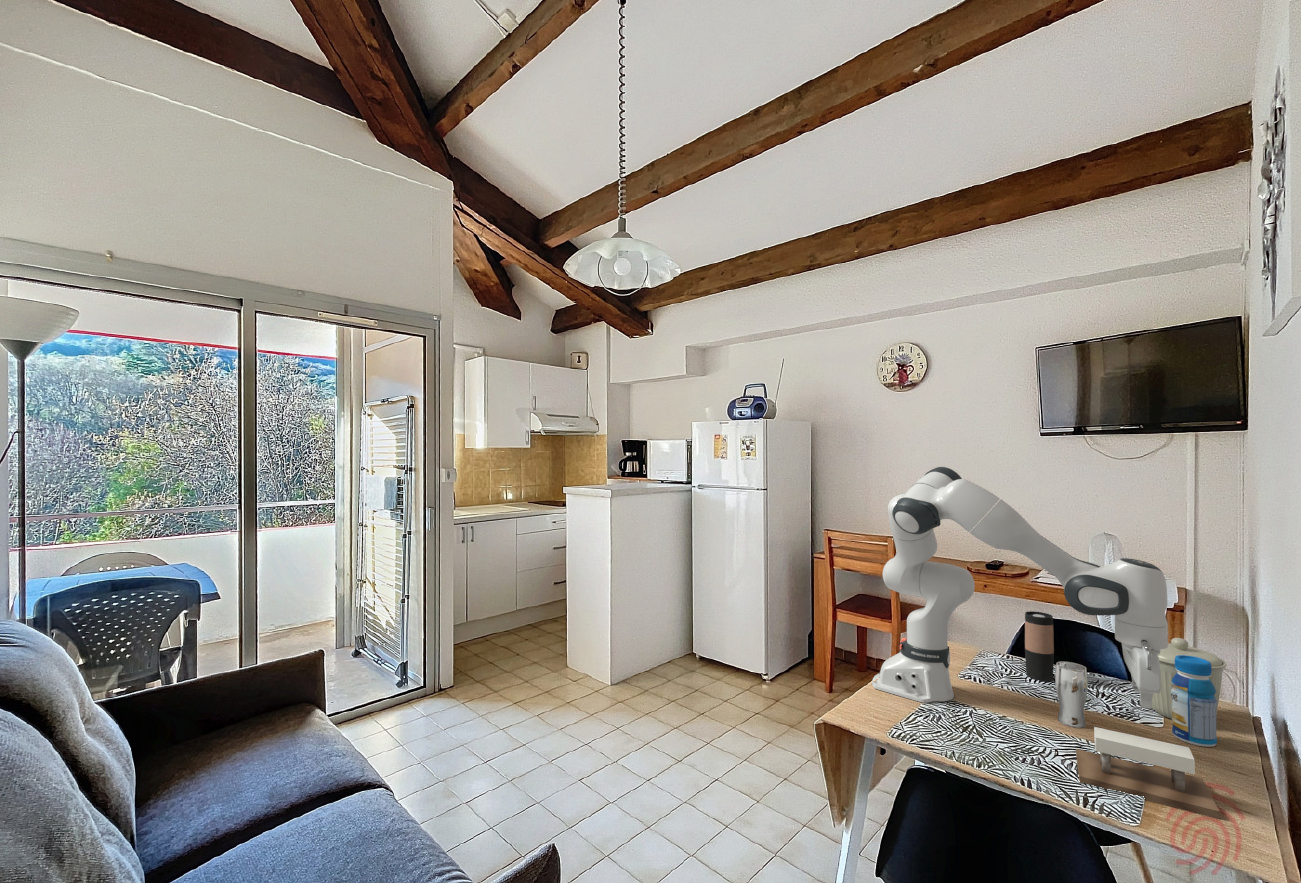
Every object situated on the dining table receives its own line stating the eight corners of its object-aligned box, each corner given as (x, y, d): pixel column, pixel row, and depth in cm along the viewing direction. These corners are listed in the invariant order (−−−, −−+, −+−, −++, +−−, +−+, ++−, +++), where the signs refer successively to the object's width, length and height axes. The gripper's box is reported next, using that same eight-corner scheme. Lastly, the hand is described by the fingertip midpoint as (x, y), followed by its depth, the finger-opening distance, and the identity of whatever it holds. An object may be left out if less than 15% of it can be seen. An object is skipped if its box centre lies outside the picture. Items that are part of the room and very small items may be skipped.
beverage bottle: (1211, 751, 138) (1209, 667, 139) (1166, 737, 146) (1164, 657, 146) (1222, 742, 143) (1221, 661, 143) (1178, 728, 150) (1176, 651, 150)
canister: (1244, 726, 151) (1243, 645, 152) (1197, 735, 146) (1196, 652, 147) (1166, 698, 169) (1165, 626, 169) (1121, 706, 164) (1120, 631, 164)
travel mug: (1019, 673, 188) (1018, 611, 188) (1041, 672, 189) (1040, 610, 189) (1037, 682, 180) (1037, 618, 181) (1060, 681, 181) (1059, 617, 181)
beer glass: (1093, 730, 149) (1093, 671, 149) (1063, 727, 150) (1063, 669, 151) (1079, 718, 156) (1078, 662, 156) (1050, 715, 157) (1050, 660, 158)
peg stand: (1079, 783, 125) (1079, 755, 125) (1076, 755, 137) (1075, 729, 137) (1219, 819, 113) (1219, 788, 113) (1202, 785, 124) (1202, 757, 124)
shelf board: (1194, 774, 118) (1194, 759, 118) (1095, 751, 127) (1095, 737, 127) (1189, 761, 122) (1188, 747, 123) (1094, 740, 132) (1094, 726, 132)
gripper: (1170, 651, 115) (1171, 721, 115) (1151, 625, 132) (1152, 685, 132) (1129, 645, 119) (1130, 713, 118) (1116, 620, 136) (1116, 679, 136)
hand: (1141, 698), depth 125 cm, fingers open, 8 cm apart
